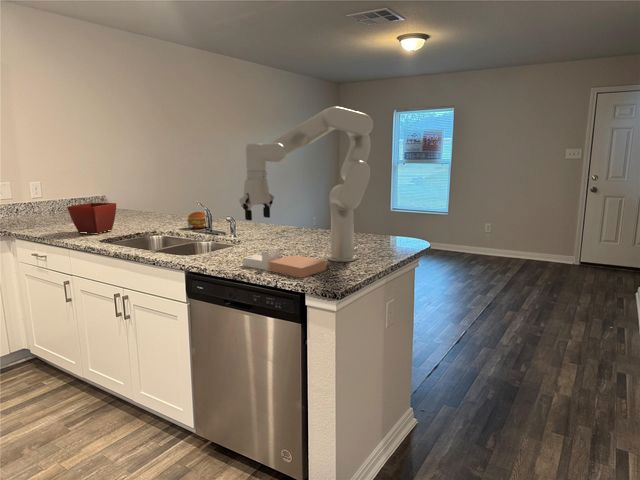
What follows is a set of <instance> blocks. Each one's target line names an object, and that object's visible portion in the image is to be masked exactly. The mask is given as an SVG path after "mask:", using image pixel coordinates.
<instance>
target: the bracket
mask: <svg viewBox="0 0 640 480" xmlns="http://www.w3.org/2000/svg"><path fill="white" fill-rule="evenodd" d="M279 253H280V252H279V248H277V247H271V252H269V250H268V251H267V250H261V255H260V254H251V255H248V256H245V257H243V258H242V265H243V266H244V267H249V268H255V269H261V270H265V271H266V270H267V271H269V270H270V266H269V262H270V261H273V260H277V259H280V257H279V255H280V254H279Z"/></svg>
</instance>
